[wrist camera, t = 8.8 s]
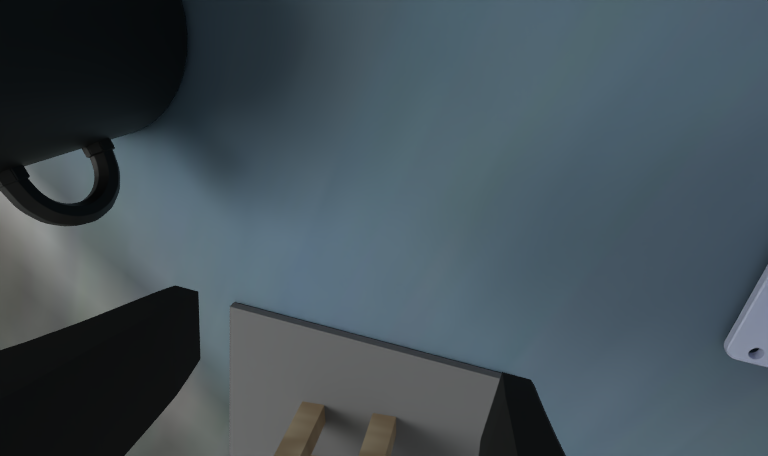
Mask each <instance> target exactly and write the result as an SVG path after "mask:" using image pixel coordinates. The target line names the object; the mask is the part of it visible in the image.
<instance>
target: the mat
mask: <svg viewBox="0 0 768 456" xmlns="http://www.w3.org/2000/svg"><path fill="white" fill-rule="evenodd" d="M501 374H502V373H499V372H495V371H491V370H487V369H484V368H480V367H476V366H472V365H469V364H465V363H461V362H457V361H453V360H450V359H446V358H442V357H438V356H435V355H431V354H427V353H423V352H420V351H416V350H412V349H408V348H404V347H401V346H397V345H393V344H389V343H386V342H382V341H378V340H374V339H371V338H367V337H363V336H359V335H355V334H352V333H348V332H344V331H340V330H337V329H333V328H329V327H325V326H322V325H318V324H314V323H310V322H306V321H303V320H299V319H295V318H291V317H288V316H284V315H280V314H276V313H273V312H269V311H265V310H261V309H257V308H254V307H250V306H246V305H242V304H239V303H235V302H234V303H233V304H232V305H231V306H230V456H274V454H275V452H276V450H277V448H278V447H279V445H280V443H281V441H282V439H283V437H284V435H285V433H286V431H287V430H288V428H289V426H290V424H291V422H292V420H293V418H294V416H295V414H296V412H297V411H298V409H299V407H300V405H301V403H302V401H303V402H309V403H316V404H322V405H324V409H325V422H326V423H325V425H324V427H323V429H322V432H321V434H320V436H319V438H318V441H317V443H316V445H315V447H314V450H313V452H312V454H311V455H315V456H359V453H360V450H361V447H362V444H363V441H364V438H365V435H366V432H367V429H368V426H369V423H370V420H371V417H372V414H373V413H376V414H382V415H388V416H394V417H396V437H395V441H394V445H393V449H392V452H391V456H479V448H480V440H481V436H482V433H483V430H484V427H485V424H486V421H487V418H488V415H489V411H490V408H491V405H492V402H493V399H494V396H495V393H496V390H497V387H498V383H499V380H500V377H501Z"/></svg>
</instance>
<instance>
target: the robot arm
mask: <svg viewBox="0 0 768 456" xmlns="http://www.w3.org/2000/svg"><path fill="white" fill-rule="evenodd" d="M723 346H724V349H725V351H726V352H727V354H728V355H729V356H730V357H731V358H733V359H736V360H740V361H744V362H748V363H752V364H756V365H760V366H764V367H768V265H767V267H766V269H765V270H764V272H763V274H762V276H761V277H760V279H759V281H758V283H757V285H756V286H755V288H754V290H753V292H752V293H751V295H750V297H749V299H748V301H747V302H746V304H745V306H744V308H743V310H742V311H741V313H740V315H739V317H738V318H737V320H736V322H735V324H734V326H733V327H732V329H731V331H730V333H729V334H728V336H727V338H726V340H725V342H724V345H723ZM754 348H759V350H757V351H756V352H753V353H749V351H750V350H751V349H754ZM199 360H200V332H199V300H198V291H194V290H190V289H186V288H183V287H179V286H172V287H169V288H166V289H163V290H161V291H158V292H155V293H153V294H150V295H148V296H145V297H143V298H140V299H138V300H135V301H133V302H130V303H128V304H125V305H123V306H120V307H118V308H115V309H113V310H110V311H108V312H105V313H103V314H100V315H98V316H95V317H92V318H90V319H87V320H85V321H82V322H80V323H77V324H74V325H72V326H69V327H66V328H63V329H61V330H58V331H55V332H52V333H49V334H47V335H44V336H41V337H38V338H36V339H33V340H30V341H27V342H24V343H21V344H18V345H15V346H12V347H9V348H6V349H3V350H0V456H125V454H126V453H127V452H128V451H129V450H130V449H131V448H132V446H133V445H134V444H135V443H136V442H137V441H138V440H139V438H140V437H141V436H142V435H143V434H144V433H145V431H146V430H147V429H148V428H149V427H150V426H151V425H152V423H153V422H154V421H155V420H156V419H157V418H158V416H159V415H160V414H161V413H162V412H163V411H164V409H165V408H166V407H167V406H168V405H169V404H170V402H171V401H172V400H173V399H174V398H175V396H176V395H177V394H178V392H179V391H180V389H181V388H182V386H183V385H184V383H185V382H186V381H187V379H188V377H189V376H190V374H191V373H192V371H193V370H194V368H195V367H196V365H197V363H198V362H199ZM479 456H566V455H565V453H564V451H563V449H562V447H561V445H560V443H559V441H558V439H557V437H556V435H555V432H554V430H553V428H552V426H551V424H550V421H549V419H548V417H547V415H546V412H545V410H544V408H543V405H542V403H541V401H540V398H539V396H538V393H537V391H536V388H535V386H534V384H533V382H532V381H531V380H530V379H526V378H522V377H518V376H515V375H511V374H507V373H503V372H502V374H501V377H500V380H499V383H498V387H497V390H496V393H495V396H494V399H493V402H492V405H491V408H490V411H489V415H488V418H487V421H486V424H485V427H484V430H483V433H482V436H481V440H480V448H479Z"/></svg>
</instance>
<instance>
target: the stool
mask: <svg viewBox="0 0 768 456" xmlns="http://www.w3.org/2000/svg"><path fill="white" fill-rule="evenodd" d="M325 423H326V422H325V409H324V405H322V404H316V403H309V402H303V401H302V403H301V405H300V407H299V409H298V411H297V412H296V414H295V416H294V418H293V420H292V422H291V424H290V426H289V428H288V430H287V431H286V433H285V435H284V437H283V439H282V441H281V443H280V445H279V447H278V448H277V450H276V452H275V454H274V456H315V455H311V454H312V452H313V450H314V447H315V445H316V443H317V441H318V438H319V436H320V434H321V432H322V429H323V427H324V425H325ZM395 437H396V417H394V416H388V415H382V414H376V413H373V414H372V417H371V420H370V423H369V426H368V429H367V432H366V435H365V438H364V441H363V444H362V447H361V450H360V453H359V456H391V452H392V449H393V445H394V441H395Z"/></svg>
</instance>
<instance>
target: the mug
mask: <svg viewBox="0 0 768 456" xmlns="http://www.w3.org/2000/svg"><path fill="white" fill-rule="evenodd" d="M186 57H187V29H186V20H185V14H184V10H183V5H182V1H181V0H0V191H1V192H2V193H3V194H4V195H5V196H6V197H7V198H8V200H9V201H10V202H11V203H12V204H13V205H14V206H15V207H16V208H18V209H19V210H20V211H22V212H23V213H25V214H27V215H28V216H30V217H32V218H34V219H36V220H38V221H40V222H43V223H47V224H52V225H58V226H77V225H82V224H86V223H90V222H93V221H96V220H98V219H99V218H101V217H102V216H103V215H104V214H106V213H107V212H108V211H109V210H110V209H111V208H112V206H113V204H114V203H115V200H116V198H117V196H118V193H119V189H120V171H119V166H118V163H117V160H116V158H115V155H114V152H113V149H114V148H115V147H114V145H113V143H112V141H111V139H113V138H116V137H120V136H123V135H126V134H129V133H133V132H136V131H138V130H140V129H142V128H144V127H146V126H148V125H149V124H151V123H152V122H153V121H155V120H156V119H157V118H158V117H159V116H161V114H162V113H163V112H164V111H165V109H166V108H167V107H168V105H169V104H170V102H171V101H172V99H173V98H174V96H175V94H176V92H177V90H178V88H179V86H180V83H181V80H182V77H183V73H184V69H185V63H186ZM81 148H82V150H83V152H84V154H85V155H86V157H88V158H90V160H91V162H92V165H93V169H94V176H95V179H94V185H93V188H92V191H91V192H90V194H89V195H88V196H87V197H86V198H85V199H84V200H83V201H81V202H78V203H72V204H66V203H60V202H56V201H53V200H52V199H50V198H48V197H47V196H45V195H44V194H42V193H41V192H40V191H39V190H38V189H37V188H36V187H35V186H34V185H33V184H32V183H31V181H30V180H29V179H28V178H29V177H30V176H29V174H28V172H27V171H26V169H25V167H24V166H27V165H30V164H33V163H36V162H39V161H43V160H46V159H49V158H52V157H55V156H59V155H62V154H65V153H68V152H72V151H75V150H78V149H81Z"/></svg>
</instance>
